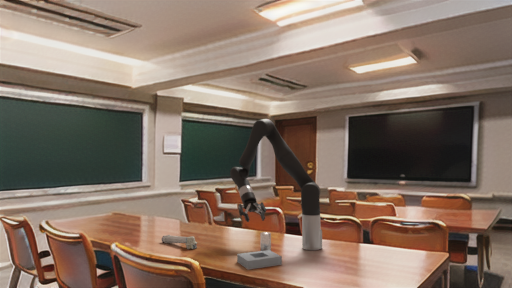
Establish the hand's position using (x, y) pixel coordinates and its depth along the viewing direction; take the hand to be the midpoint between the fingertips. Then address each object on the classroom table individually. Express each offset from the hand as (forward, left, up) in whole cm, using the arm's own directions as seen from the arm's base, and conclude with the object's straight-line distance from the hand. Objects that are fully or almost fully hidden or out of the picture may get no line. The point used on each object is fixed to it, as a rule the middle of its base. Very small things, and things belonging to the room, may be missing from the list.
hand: (256, 220), depth 180 cm
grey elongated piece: (+34, -24, -15) cm, 44 cm away
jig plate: (+9, +23, -14) cm, 29 cm away
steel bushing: (0, +11, -14) cm, 18 cm away
